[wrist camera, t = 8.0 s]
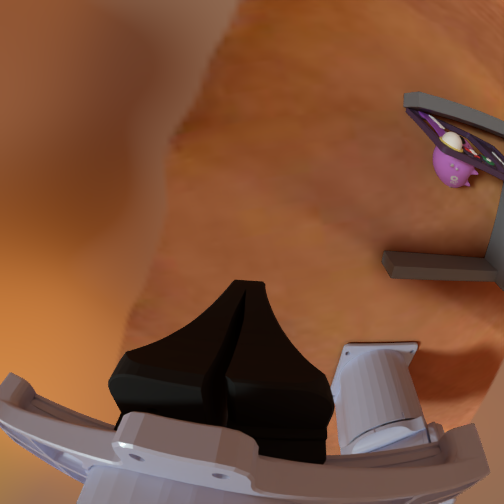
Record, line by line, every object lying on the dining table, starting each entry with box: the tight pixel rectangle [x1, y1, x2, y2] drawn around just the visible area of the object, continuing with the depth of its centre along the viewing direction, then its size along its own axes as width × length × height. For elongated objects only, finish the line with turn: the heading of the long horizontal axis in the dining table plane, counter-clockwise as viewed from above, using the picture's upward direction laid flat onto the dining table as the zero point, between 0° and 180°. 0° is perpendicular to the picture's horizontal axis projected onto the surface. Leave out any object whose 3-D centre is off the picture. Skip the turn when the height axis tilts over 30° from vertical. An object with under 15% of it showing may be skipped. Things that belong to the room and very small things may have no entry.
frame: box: [382, 92, 504, 291], centre depth 16 cm, size 13×12×4 cm
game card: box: [406, 108, 504, 188], centre depth 15 cm, size 7×5×9 cm
